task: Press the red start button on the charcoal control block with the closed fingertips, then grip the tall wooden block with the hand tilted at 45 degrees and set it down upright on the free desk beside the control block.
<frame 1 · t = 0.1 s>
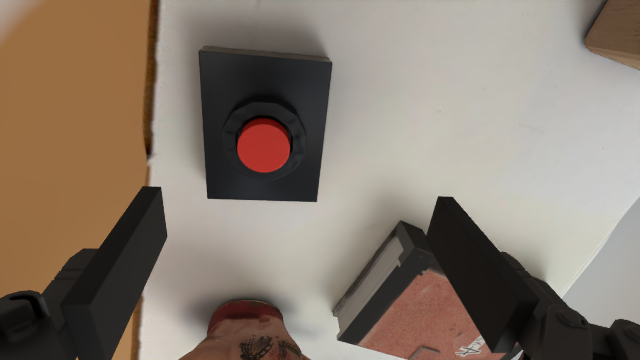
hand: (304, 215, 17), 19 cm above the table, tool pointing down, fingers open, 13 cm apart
start button: (264, 145, 30), point 5 cm above the table, slide at 0.1 cm
book: (439, 297, 49), on the table
control block: (265, 126, 34), on the table
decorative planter: (260, 320, 47), on the table
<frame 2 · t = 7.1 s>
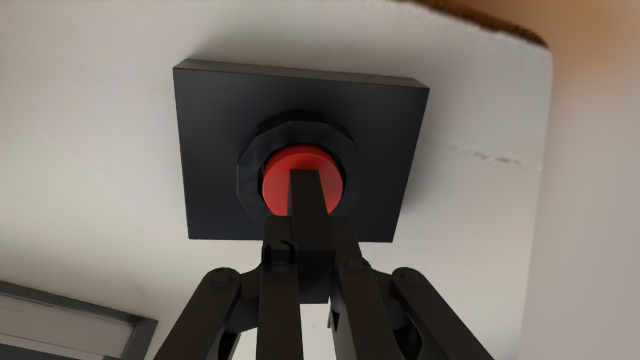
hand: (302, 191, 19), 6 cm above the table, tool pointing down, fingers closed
start button: (302, 182, 20), point 4 cm above the table, slide at -0.5 cm, touching gripper
control block: (298, 152, 24), on the table
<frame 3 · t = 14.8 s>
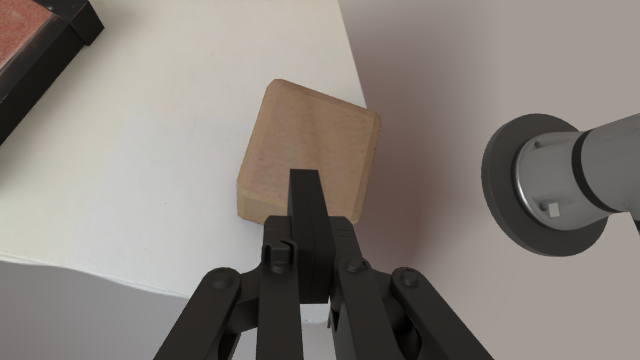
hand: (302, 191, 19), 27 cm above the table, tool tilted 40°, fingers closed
wooden block: (283, 191, 46), on the table
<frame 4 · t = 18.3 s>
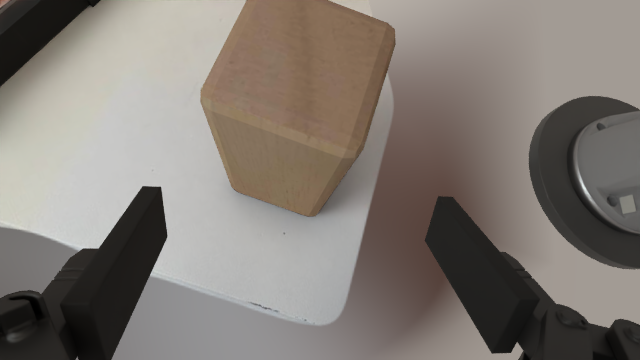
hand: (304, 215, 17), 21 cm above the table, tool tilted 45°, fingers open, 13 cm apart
wooden block: (287, 166, 40), on the table
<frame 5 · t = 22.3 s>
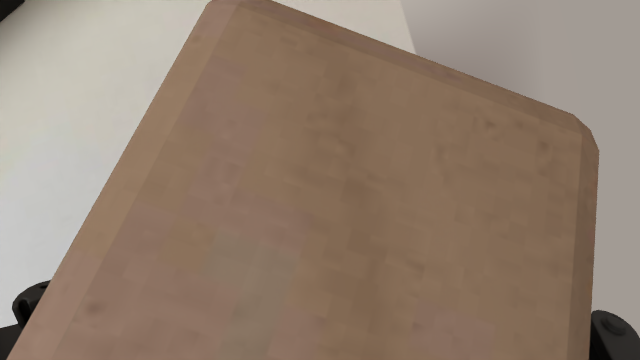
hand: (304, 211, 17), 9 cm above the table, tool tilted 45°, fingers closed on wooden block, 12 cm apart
wooden block: (290, 277, 25), on the table, touching gripper
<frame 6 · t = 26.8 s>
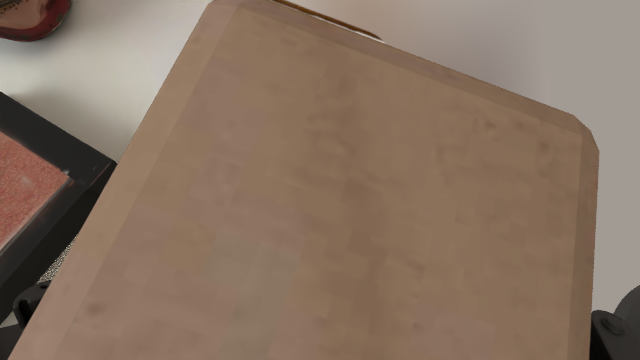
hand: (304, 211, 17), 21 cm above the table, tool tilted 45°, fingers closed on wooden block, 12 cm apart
wooden block: (290, 277, 25), point 12 cm above the table, touching gripper
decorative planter: (22, 22, 41), on the table
when the fingers open (9 cm above the table, at t = 31.4 s): wooden block stays where it is, on the table.
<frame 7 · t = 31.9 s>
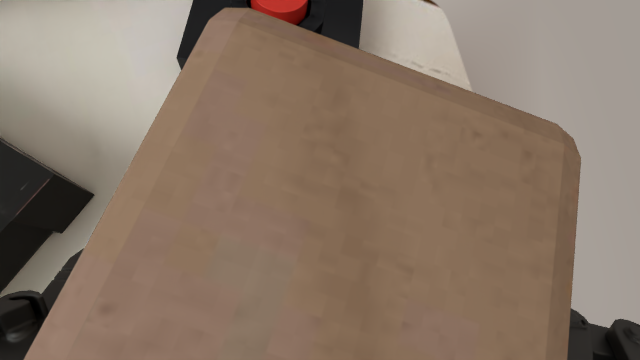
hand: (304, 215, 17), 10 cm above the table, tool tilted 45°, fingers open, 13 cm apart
wooden block: (289, 277, 26), on the table
control block: (277, 40, 31), on the table
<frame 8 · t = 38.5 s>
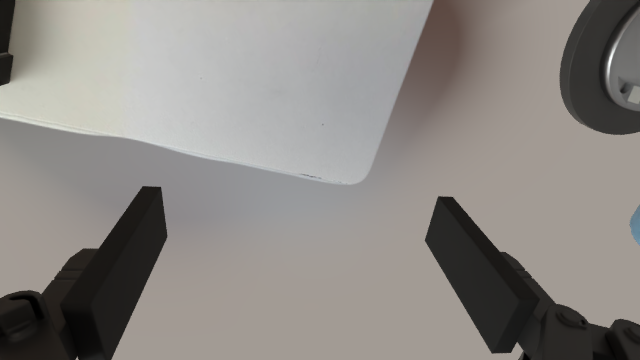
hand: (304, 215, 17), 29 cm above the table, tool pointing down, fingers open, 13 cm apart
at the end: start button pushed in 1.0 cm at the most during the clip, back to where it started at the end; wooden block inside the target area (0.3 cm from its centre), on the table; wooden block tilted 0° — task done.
